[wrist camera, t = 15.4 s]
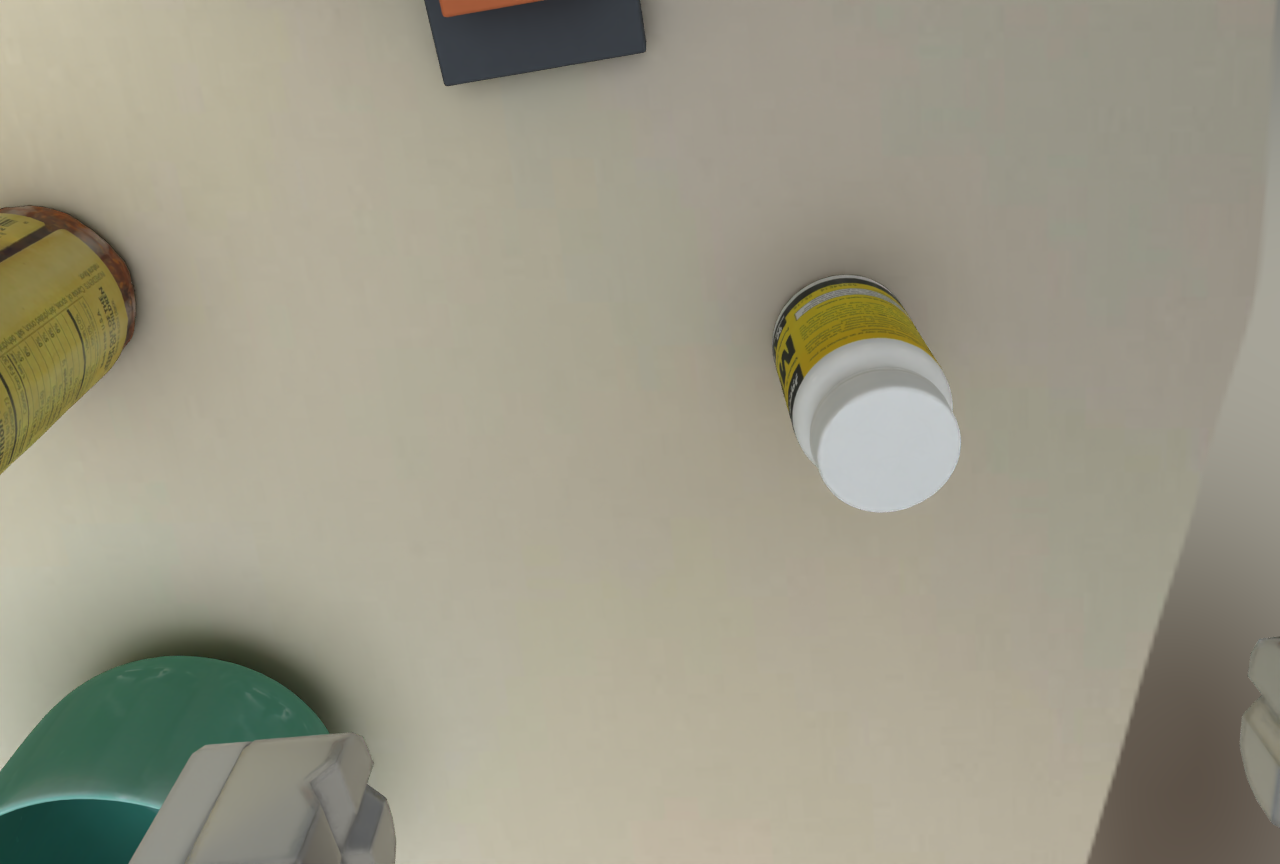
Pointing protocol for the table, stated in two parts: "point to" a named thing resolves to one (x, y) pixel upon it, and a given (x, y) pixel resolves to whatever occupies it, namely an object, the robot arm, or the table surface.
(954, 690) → the table surface
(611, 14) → the orange and grey block
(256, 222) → the table surface
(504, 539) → the table surface
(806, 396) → the supplement bottle
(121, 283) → the sauce bottle
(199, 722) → the mug
